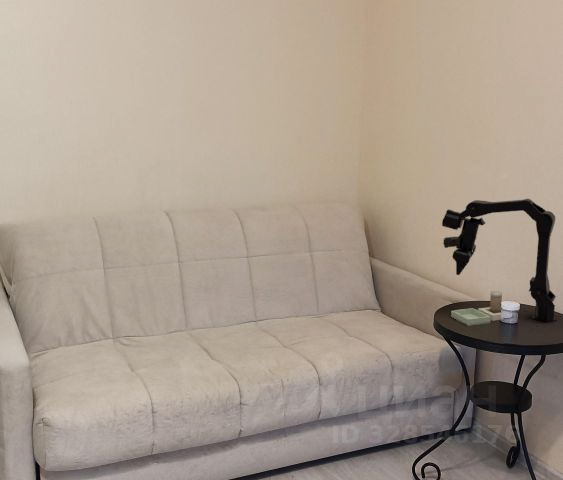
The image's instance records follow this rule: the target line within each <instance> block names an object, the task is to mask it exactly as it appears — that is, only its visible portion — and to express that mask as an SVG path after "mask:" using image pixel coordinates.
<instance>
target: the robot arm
mask: <svg viewBox="0 0 563 480" xmlns="http://www.w3.org/2000/svg"><path fill="white" fill-rule="evenodd" d="M521 211H522V212H524V213H525V214H527V216H529V217H530V218H531V219H532V220H533V221H534V222H535V227H536V233H537V238H538V240H537V254H536V255H537V256H536V264H535V265H536V267H535V276H532V277H531V278H530V279H529V289H528V292H530V297H532V299H533V300H534V301H535V308H534V309H535V310H534V315H533V316H531V319H532V320H536V321H538V322H540V323H542V324H543V323H551V322H552V323H553V322H557V321H558V319H557V318H555V308H556V305H555V304H554V301H555V299H556V297H557V296H556V294H554V293H553V292H552V291H551V290H550V289H551V287H550V286H551V285H550V280H549V279H550V278H549V276H548V271H549V258H550V243H551V236H552V233H553V231H554V226H555V223H556V216H555V214H554V213H553V212H552V211H549V210H546V209H545V208H543V207H542V206H540V205H539V204H537V203H535V202H534V201H533V200H532V199H530V198H525V199H524V198H523V199H517V200H515V199H514V200H502V201H488V200H487V201H486V200H481V199H479V200H477V199H476V200H472V201H471V202H469V203H468V204H467V205H466V206H465V210H462V211H461V212H458V211H454V210H453V209H447V210H446V212H445V215H444V217H443V218H442V222H441V226H442V227H445V228H448V229H451V230H455V231H458V230H459V229H461V232H460V234H459V235H458V236H449V237H448V236H447V237H444V238H443V239H442V240H443V247H444V248H445V249H446V248H447V249H448V248H455V250H454V251H453V252H452V260H454V261H455V268H456V269H455V270H456V271H455V273H456V275H457V276H460V275H461V273H462V272H463V270H464V269H465V268H466V267H467V265H468V264H469V262H470V261H471V259H472V257H473V255H475V254H474V253H475V252H476V249H477V246H476V244H475V243H476V240H477V234H478V231H479V226H484V225H485V224H486V221H485V220H484V219H483V216H485V215H490V214H492V213H507V212H508V213H509V212H521ZM468 217H469V218H468ZM477 217H479V218H477Z"/></svg>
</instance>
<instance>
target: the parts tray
mask: <svg viewBox="0 0 563 480" xmlns="http://www.w3.org/2000/svg"><path fill="white" fill-rule="evenodd" d="M450 311H451V312H450V317H452V318H451V319H453V318H454V320H455V319H456V321H457V322H459V323H461V324H463V325H465V326H467V327H473V326H478V325H488V324H491V320H490V319H491V317H490V316H488V315H486V314H484V313H482V312H480V311H478V309H475V308H473V307H470V308H463V309H455V310H450Z"/></svg>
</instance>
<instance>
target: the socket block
mask: <svg viewBox="0 0 563 480" xmlns="http://www.w3.org/2000/svg"><path fill="white" fill-rule="evenodd" d="M477 310H478V311H480V312H482V313H484V314H486V315H488V316H490V317H491V319H490V321H493V322H494V321H501V320H502V319H501V313H492V312H490V306H489V307H488V306H487V307H479V308H478V309H477Z"/></svg>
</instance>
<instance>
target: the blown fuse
mask: <svg viewBox="0 0 563 480" xmlns="http://www.w3.org/2000/svg"><path fill="white" fill-rule="evenodd" d="M489 295H490V298H489V299H490V300H489V302H490V303H489V304H490V306H489V307H490V312H492V313H501V308H502V303H501V302H503V299H502V298H503V292H502V291H498V290H494V291H490V294H489Z"/></svg>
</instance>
